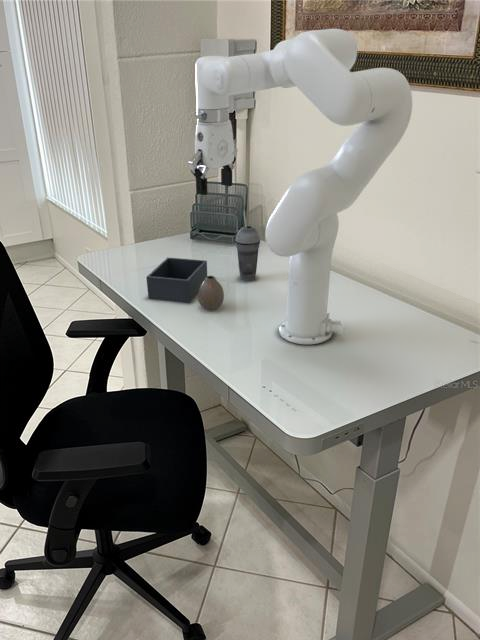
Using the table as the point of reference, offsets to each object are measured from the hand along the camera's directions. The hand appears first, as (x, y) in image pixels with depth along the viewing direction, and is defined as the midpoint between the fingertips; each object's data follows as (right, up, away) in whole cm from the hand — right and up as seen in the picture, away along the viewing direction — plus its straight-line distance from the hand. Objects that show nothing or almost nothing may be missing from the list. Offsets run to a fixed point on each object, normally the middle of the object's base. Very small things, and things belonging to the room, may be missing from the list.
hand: (214, 189), depth 148 cm
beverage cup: (+11, -18, +27) cm, 34 cm away
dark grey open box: (-10, -22, +22) cm, 32 cm away
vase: (0, -29, +11) cm, 30 cm away
